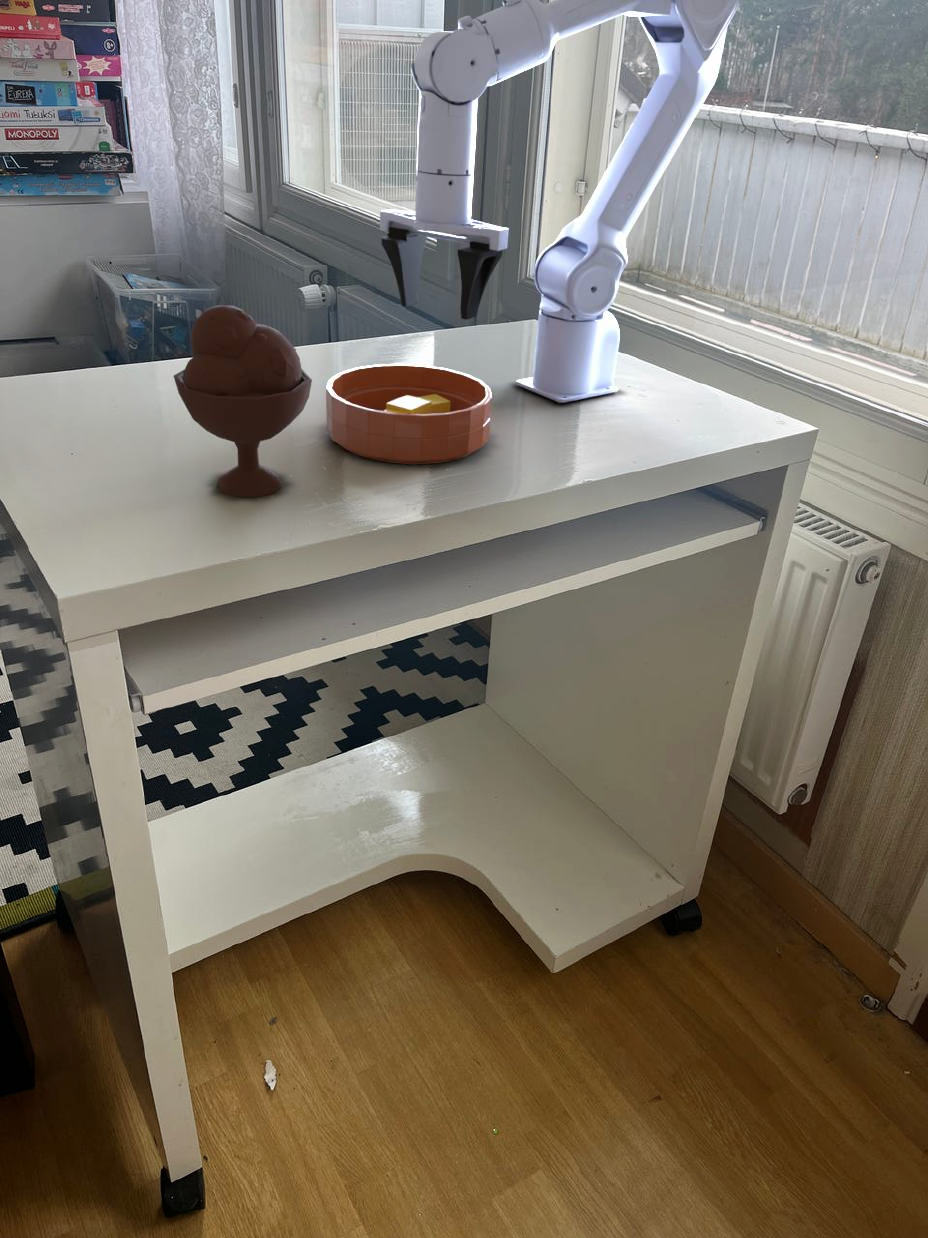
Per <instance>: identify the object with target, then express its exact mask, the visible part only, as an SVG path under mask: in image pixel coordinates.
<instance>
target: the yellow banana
mask: <svg viewBox="0 0 928 1238" xmlns="http://www.w3.org/2000/svg"><path fill="white" fill-rule="evenodd" d="M384 411H386V412H392V413H405V414H435V413H448V412H450V401H449V400H447V399H445V398H443V397H441V396H439V395H436V394H433V395H427V396H422V397H414V396H410V395H405V396H403V397H401V398H398V399H396V400H393V401H391V402H388V403H386V409H385V410H384Z"/></svg>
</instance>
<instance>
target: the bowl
mask: <svg viewBox="0 0 928 1238" xmlns="http://www.w3.org/2000/svg"><path fill="white" fill-rule="evenodd" d="M325 388H326V389H325V390H326V391H325V400H326V401H325V402H326V405H325V408H326V411H325V412H326V414H325V415H326V432H327V434H328V435H329V437H330V439H331V440H332V441H333V442H335V443H336V444H337V445H339V446H341V447H342V448H344V449H345V450H346V451H348V452H350V453H352V454H355V455H358V456H360V457H363V458H367V459H369V460H375V461H380V462H385V463H391V464H392V463H393V464H403V465H427V464H438V463H445V462H452V461H454V460H458V459H462V458H464V457H467V456H468V455H471V454H472V453H473V452H475V451H477V450H480V449H481V448H483V447H484V445H485V444H486V443H487V441H488V440H489V438H490V425H491V412H492V402H493V395H492V391H491V387H490V386H489V385H487V384H486V383H485V382H484V381H483V380H481V379H479V378H476V377H474V376H472V375H470V374H468V373H465V372H461V371H456V370H453V369H449V368H445V367H437V366H431V365H424V364H423V365H422V364H410V363H409V364H407V363H405V364H404V363H389V364H373V365H365V366H359V367H354V368H351V369H347V370H344V371H342V372H339V373H337V374H335V375H333V376H332V377H331V378H329V379H328V380H327V383H326V387H325ZM433 394H436V395H439V396H441V397H443V398H445V399H447V400H449V401H450V412H448V413H435V414H405V413H392V412H386V411H384V410H385V409H386V403H388V402H391V401H393V400H396V399H398V398H401V397H403V396H405V395H410V396H414V397H422V396H427V395H433Z"/></svg>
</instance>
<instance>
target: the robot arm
mask: <svg viewBox="0 0 928 1238" xmlns="http://www.w3.org/2000/svg"><path fill="white" fill-rule="evenodd" d="M501 1H502V6H500V7H498V8H496V9H493V10H491V11H489V12H486V13H484V14H481V15H479V16H476V17H475V18H472V16H471V15H465V16H463V17H460V18H458V19H457V26H458V27H457V29H454V30H453V31H446V30H445V31H443V30H442V31H435V32H432V33H431V34H429V35H427V36H426V37H425V38H424V39H423V40H422V41H421V44H420V45H418V47H417V49H416V52H415V56H414V61H412V62H411V63H410V72H411V76H412V80H413V82H414V84H415V86H416V87H417V89H418V91H419V103H418V118H417V142H416V143H417V148H416V175H415V176H416V178H415V180H416V181H415V206H414V207H415V209H414V210H415V211H410V210H409V211H408V210H399V209H393V208H388V209H383V210H380V211H379V231H383V232H388V233H387V235H386V236H385V235H384V236H381V240H380V241H381V246H382V248H383V249H384V252H385V254H386V255H387V258H388V260H389V262H390V265H391V267H392V270H393V273H394V277H395V280H396V283H397V284H396V285H397V289H398V293H399V298H400V303H401V307H405V308H407V307H411V306H415V305H417V304H418V300H419V294H420V273H421V264H422V259H423V253H424V250H425V245H426V242H427V238H432V239H437V240H443V241H447V242H448V241H449V242H453V243H460V244H465V245H469V247H463V248H458V249H457V259H458V263H459V270H460V278H461V279H460V280H461V281H460V282H461V292H460V319H462V320H465V321H467V320H471V319H474V318H477V316H478V311H479V308H480V304H481V301H482V298H483V295H484V292H485V289H486V287H487V284H488V282H489V280H490V278H491V276H492V274H493V272H494V270H495V268H496V266H497V265H498V264H499V262H500V260H501V259H502V257H503V254H504V250H506V249H508V243H509V233H510V232H509V231H510V228H508V227H503V226H498V225H495V224H490V223H486V222H483V221H478V220H474V219H472V209H473V208H472V205H473V189H474V172H475V158H476V157H475V155H476V138H477V124H478V123H477V118H478V117H477V114H478V101H479V100H478V99H479V98H480V97H481V96H482V95H483V94H484V92H485V91H486V89H487V87H492V86H493V85H496V84H497V83H500V82H502V81H504V80H507V79H509V78H511V77H514V76H516V75H518V74H520V73H522V72H524V71H527V70H529V69H532V68H534V67H536V66H538V65H540V64H543V63H545V62H547V61H548V59H549V58H550V56H551V54H552V51H553V50H554V47H555V45H556V43H557V41H559V40H561V39H564V38H566V37H569V36H572V35H574V34H577V33H579V32H582V31H584V30H587V29H589V28H592V27H594V26H597V25H600V24H602V23H605V22H607V21H610V20H612V19H615V18H617V17H620V16H622V15H624V16H627V17H638V19H639V21H640V23H641V25H642V27H643V29H644V31H645V33H646V35H647V37H648V39H649V41H650V43H651V45H652V47H653V49H654V50H655V54H656V59H657V63H658V67H659V74H658V77H656V80H655V81H654V84H653V86H652V88H651V89H650V91H649V93H648V95H647V96H646V98H645V100H644V102H643V104H642V105H641V106H640V109H639V111H638V112H637V114H636V116H635V118H634V120H633V121H632V124H631V125H630V127H629V128H628V130H627V132H626V134H625V136H624V138H623V140H622V141H621V143H620V145H619V147H618V148H617V150H616V152H615V154H614V155H613V158H612V159H611V162H610V163H609V165H608V167H607V168H606V169H605V172H604V174H603V176H602V178H600V179H601V180H600V181H599V182H598V185H597V186H596V188H595V190H594V192H593V193H592V196H591V198H590V199H589V201H588V203H587V205H586V206H585V208H584V210H583V211H582V214H581V215H579V216H578V217H576V218H575V219H574V220H573V221H571V222H569V223H568V224H567V225H566V226H564V227H563V228H562V229H561V232H560V233H559V235H558V237H557V238H556V239H555V241H554V242H553V243H551V244H550V245H549V246H547V247H546V248H544V249H543V251H542V252H541V253H540V254H539V255H538V257H537V259H536V261H535V264H534V268H533V281H534V282H533V283H534V285H535V288H536V290H537V291H538V292H539V293H540V295H541V297H540V303H539V311H538V320H537V321H538V322H537V330H536V337H535V338H536V339H535V349H534V360H533V369H532V377H527V378H520V379H517V380H516V382H515V384H516V385H517V386H519V387H522V388H524V389H526V390H528V391H531V392H533V393H535V394H538V395H540V396H542V397H545V398H548V399H550V400H551V401H554V402H557V403H560V404H564V403H569V402H573V401H578V400H583V399H589V398H593V397H597V396H602V395H607V394H612V393H617V392H618V391H619V388H618V387H617V386H615V385H614V380H615V374H616V367H617V362H618V361H617V360H618V353H619V348H620V339H621V338H620V337H621V334H620V328H619V324H618V321H617V319H616V318H615V316H614V315H613V314H612V313H611V312H610V311H608V310H609V309H610V308H611V306H612V305H613V303H614V302H615V300H616V297H617V295H618V291H619V284H620V279H621V276H622V273H623V272H624V270H625V268H626V266H627V264H628V253H627V248H626V239H627V237H628V235H629V233H630V232H631V229H632V228H633V226H634V225H635V222H636V221H637V219H638V217H639V216H640V214H641V213H642V211H643V209H644V207H645V205H646V203H647V202H648V200H649V198H650V196H651V195H652V194H653V191H654V190H655V187H656V186H657V184H658V183H659V181H660V179H661V178H662V176H663V174H664V172H665V171H666V169H667V167H668V165H669V164H670V162H671V160H672V158H673V156H674V155H675V153H676V151H677V149H678V148H679V146H680V144H681V142H682V141H683V139H684V138H685V136H686V134H687V132H688V131H689V128H690V127H691V125H692V123H693V121H694V120H695V118H696V116H697V114H698V113H699V112H700V109H701V108H702V106H703V104H704V102H705V101H706V99H707V97H708V95H709V94H710V92H711V90H712V89H713V87H714V86H715V83H716V81H717V78H718V75H719V71H720V65H721V61H722V55H723V51H724V45H725V42H726V41H725V40H726V35H727V31H728V26H729V24H730V23H731V21H732V19H733V17H734V15H735V14H736V12H737V10H738V8H739V7H740V0H551V1H549V2H547V3H543V2H541V1H540V0H501Z"/></svg>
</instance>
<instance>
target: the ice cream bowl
mask: <svg viewBox="0 0 928 1238" xmlns="http://www.w3.org/2000/svg"><path fill="white" fill-rule="evenodd" d="M189 342H190V346H191V350H192V353H193V356H192V357H191V359H189V360H188V362H187V363H186V365H185V368H184V369H183V370H181V371H179V372H177V373H176V374H174V375H173V378H174V382H175V386H176V390H177V392H178V395H179V397H180V398H181V401H182V402H183V404H184V406H185V408H186V409H187V412H188V413H189V415H190V416H191V419H192V420H193V421H194V422H195V423H197V424H198V425H199V426H200V427H201V428H203V430H205V431H206V432H208V433H210V434H212V435H213V436H215V437H217V438H219V439H223V440H225V441H229V442H232V443H234V445H235V447H236V449H237V465H235V466H234V467H232V468H230V469H228V470H226V471H224V473H222V474H221V475H220V476H219V477H218V479H217V482H216V485H217V487H218V488H219V491H220V492H221V493H224V494H226V495H230V496H233V497H236V498H258V497H263V496H267V495H271V494H274V493H276V492H277V491H278V490H279V489H280V488H281V487H282V486H283V484H282V481H281V478H280V477H279V475H278V473H277V472H276V471H274V470H272V469H269V468H267V467H266V466H263V465H261V464H260V460H259V459H260V458H259V447H260V444H261V442H263V441H268V440H270V439H272V438H274V437H276V436H277V435H279V434H280V433H282V432H283V430H285V429H286V428H287V427H289V425H290V424H292V423H293V422H294V421H295V420H296V418H298V416H300V414H301V413H302V412H303V411H304V409H305V407H306V404H307V402H308V400H309V398H310V394H311V388H312V383H313V379H312V378H311V377H310V376H309V375H308V374H307V373H306V372H305V370H304V369H303V368H302V364H301V359H300V356H299V354H298V353H297V349H296V347H294V345H293V344H292V343H291V341H289V340H288V339H287V338H286V337H285V336H284V335H283V334H282V333H281V331H279V330H278V329H276V328H274V327H271V326H269V325H266V324H262V323H256V321H255V320H254V319H253V318H252V316H251V315H250V314H249V313H248V312H246V311H245V310H243V309H241V308H239V307H237V306H235V305H227V304H226V305H225V304H220V305H219V304H217V305H215V306H211V307H209V308H206V309H205V310H204V311H203V312H202V313H200V315H199V316H198V317H197V318H196V320H194V323H193V325H192V327H191V330H190V339H189Z"/></svg>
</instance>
